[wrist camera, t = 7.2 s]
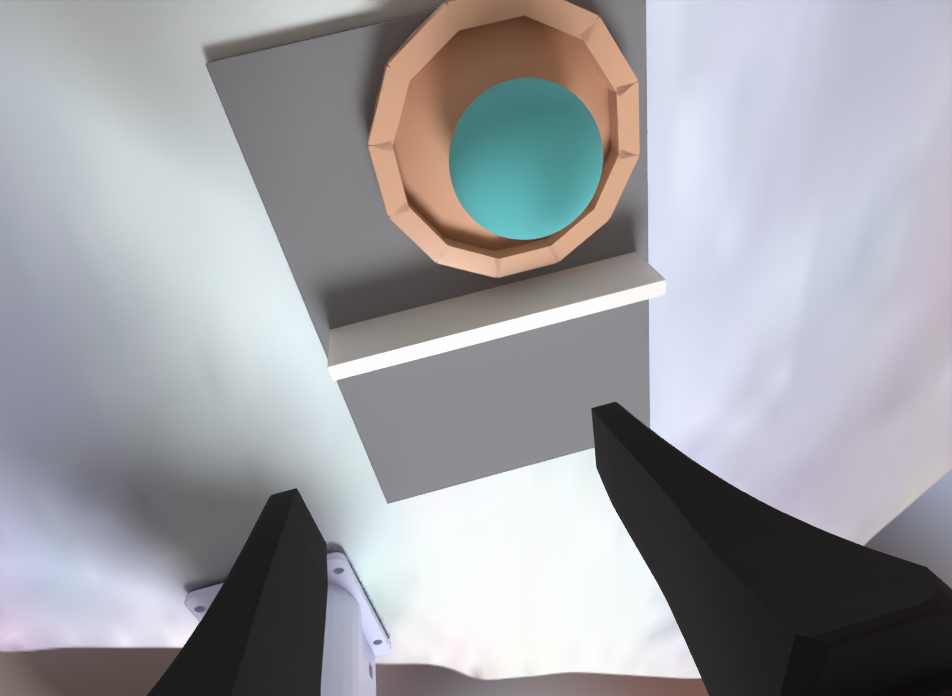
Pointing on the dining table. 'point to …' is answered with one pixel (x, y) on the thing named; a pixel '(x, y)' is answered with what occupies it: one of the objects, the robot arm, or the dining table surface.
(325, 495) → the dining table surface
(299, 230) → the mat
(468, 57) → the saucer
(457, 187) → the ball
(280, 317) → the dining table surface
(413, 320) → the wall
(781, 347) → the dining table surface
